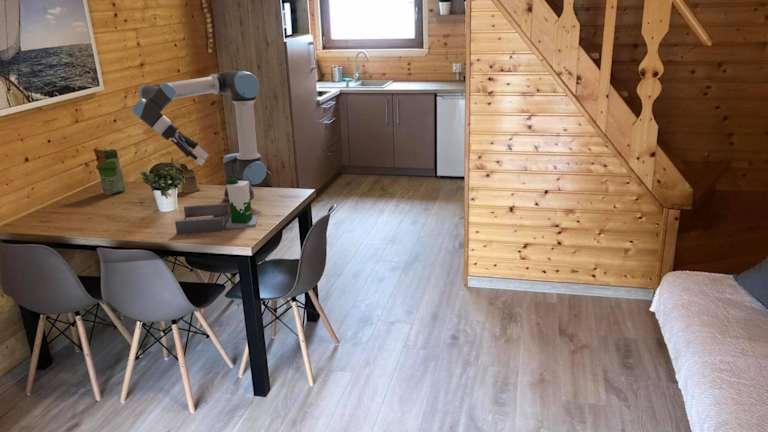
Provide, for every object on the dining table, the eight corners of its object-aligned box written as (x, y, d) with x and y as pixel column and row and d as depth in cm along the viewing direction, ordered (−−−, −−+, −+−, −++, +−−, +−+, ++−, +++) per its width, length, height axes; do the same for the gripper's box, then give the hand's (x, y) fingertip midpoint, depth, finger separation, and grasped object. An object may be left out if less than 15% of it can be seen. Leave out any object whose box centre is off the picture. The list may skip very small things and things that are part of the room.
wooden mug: (180, 187, 349) (175, 155, 343) (202, 188, 346) (198, 156, 340) (171, 192, 341) (166, 160, 335) (194, 193, 338) (189, 160, 332)
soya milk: (236, 217, 294) (231, 175, 288) (255, 217, 292) (250, 176, 286) (228, 223, 286) (223, 181, 280) (247, 224, 284) (242, 181, 278)
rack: (186, 218, 299) (184, 206, 297) (229, 215, 301) (227, 203, 299) (177, 234, 278) (175, 221, 276) (223, 231, 280) (221, 218, 278)
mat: (229, 218, 296) (229, 216, 295) (258, 216, 297) (257, 214, 296) (226, 228, 283) (226, 226, 283) (255, 226, 285) (255, 224, 284)
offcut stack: (185, 227, 287) (183, 217, 285) (221, 224, 288) (220, 214, 287) (182, 232, 281) (181, 221, 280) (219, 229, 283) (218, 219, 281)
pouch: (127, 193, 343) (119, 147, 334) (103, 197, 337) (95, 151, 328) (123, 188, 352) (115, 144, 343) (100, 192, 346) (91, 147, 337)
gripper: (165, 130, 287) (203, 160, 293) (154, 139, 263) (196, 172, 270) (176, 117, 286) (213, 148, 293) (166, 126, 263) (207, 159, 269)
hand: (205, 160), depth 281 cm, fingers open, 13 cm apart
